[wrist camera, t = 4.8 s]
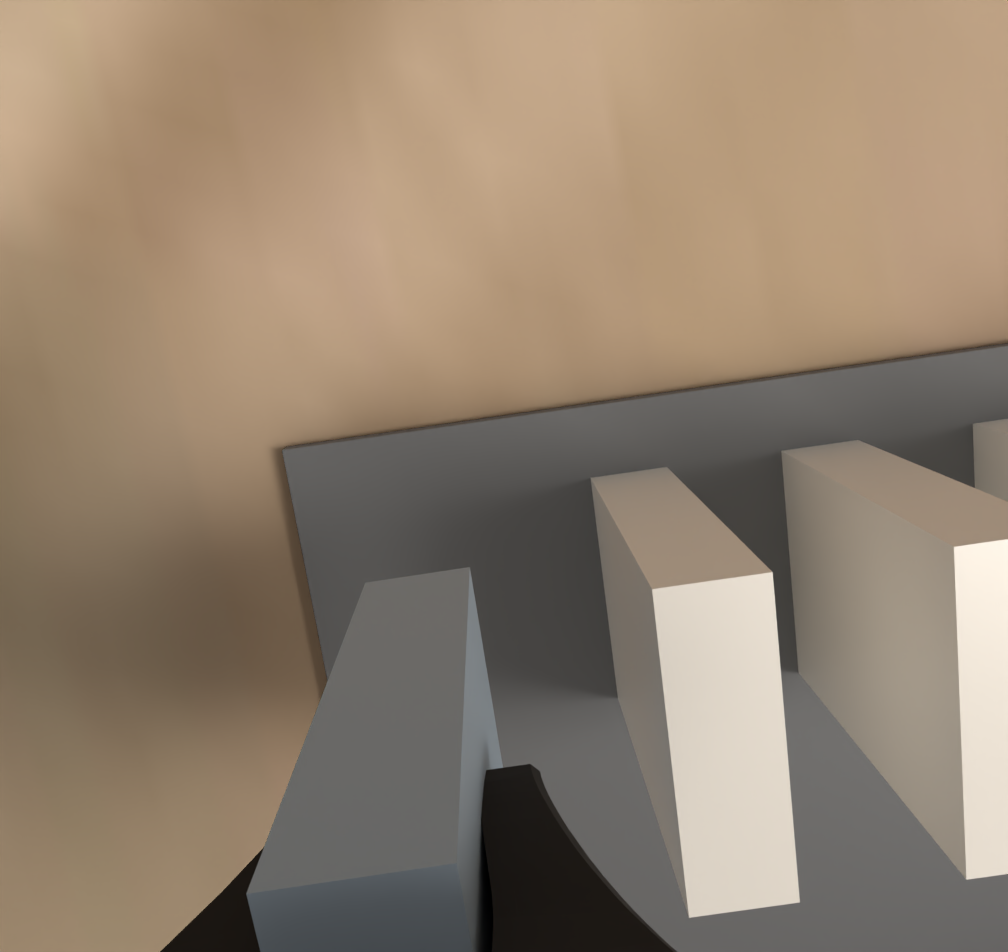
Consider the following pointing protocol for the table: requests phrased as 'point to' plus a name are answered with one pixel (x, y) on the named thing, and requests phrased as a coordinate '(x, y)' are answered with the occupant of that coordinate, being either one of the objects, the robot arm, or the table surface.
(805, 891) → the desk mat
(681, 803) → the tile
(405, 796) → the end tile
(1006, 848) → the tile
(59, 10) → the table surface
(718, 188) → the table surface
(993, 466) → the tile
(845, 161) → the table surface
